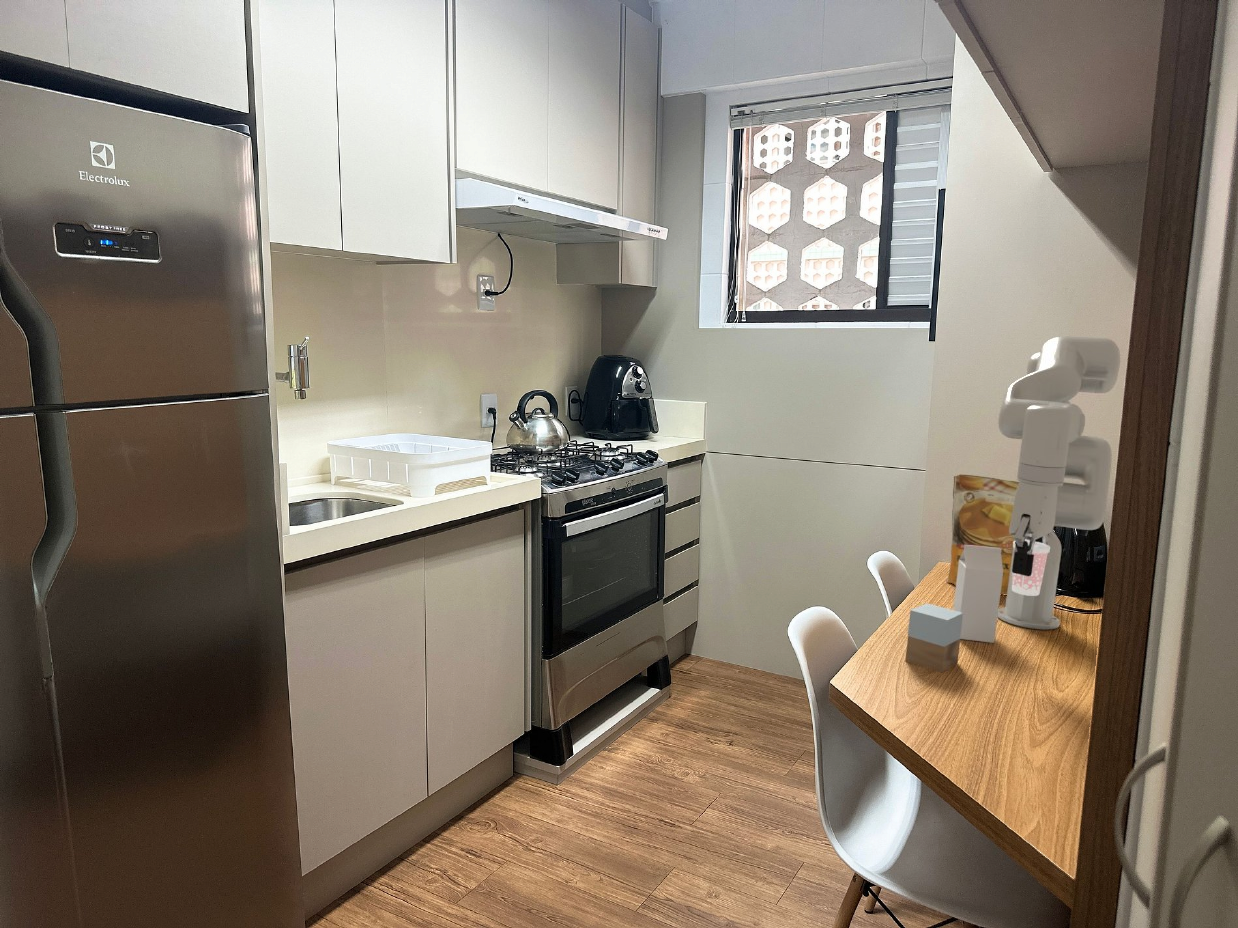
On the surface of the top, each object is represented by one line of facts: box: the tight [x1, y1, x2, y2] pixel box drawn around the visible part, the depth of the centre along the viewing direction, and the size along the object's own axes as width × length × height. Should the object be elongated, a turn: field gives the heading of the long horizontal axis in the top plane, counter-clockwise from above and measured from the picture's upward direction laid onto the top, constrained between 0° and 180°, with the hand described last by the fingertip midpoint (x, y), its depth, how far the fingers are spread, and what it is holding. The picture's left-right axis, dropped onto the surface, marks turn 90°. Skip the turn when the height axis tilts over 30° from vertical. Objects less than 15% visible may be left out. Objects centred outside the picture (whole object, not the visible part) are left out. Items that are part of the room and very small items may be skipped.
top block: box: [907, 602, 963, 647], centre depth 156 cm, size 7×7×5 cm
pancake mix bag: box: [945, 474, 1020, 594], centre depth 208 cm, size 7×19×28 cm, turn 55°
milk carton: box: [952, 545, 1003, 644], centre depth 172 cm, size 7×7×19 cm
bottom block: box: [904, 635, 961, 673], centre depth 157 cm, size 7×7×5 cm
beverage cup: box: [1012, 534, 1050, 596], centre depth 153 cm, size 6×6×14 cm
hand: (1028, 569), depth 153 cm, fingers closed on beverage cup, 6 cm apart
